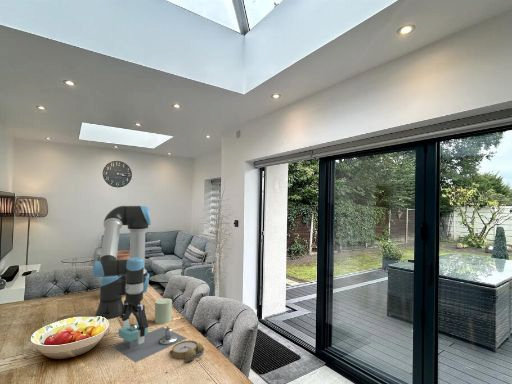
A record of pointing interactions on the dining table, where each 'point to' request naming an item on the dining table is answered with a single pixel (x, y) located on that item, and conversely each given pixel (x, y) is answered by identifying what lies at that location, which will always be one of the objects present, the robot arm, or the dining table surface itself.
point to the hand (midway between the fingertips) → (133, 338)
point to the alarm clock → (187, 350)
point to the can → (163, 311)
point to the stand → (134, 342)
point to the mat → (147, 345)
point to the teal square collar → (130, 333)
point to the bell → (168, 337)
